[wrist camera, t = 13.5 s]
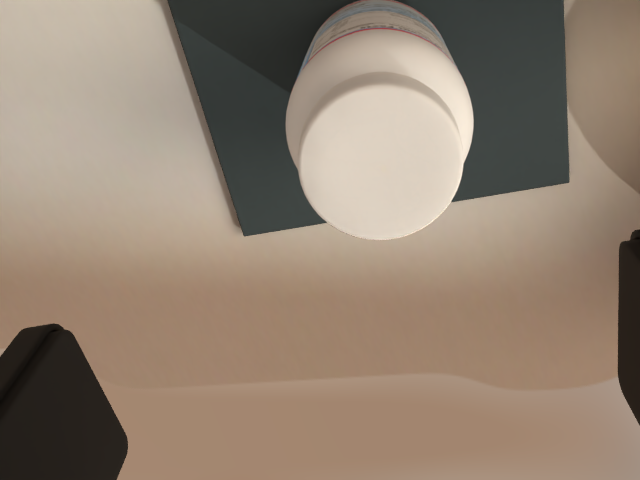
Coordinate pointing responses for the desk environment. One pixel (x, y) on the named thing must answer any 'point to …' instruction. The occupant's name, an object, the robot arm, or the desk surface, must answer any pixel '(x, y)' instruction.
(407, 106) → the pill bottle
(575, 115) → the desk surface
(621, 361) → the robot arm
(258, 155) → the mat
